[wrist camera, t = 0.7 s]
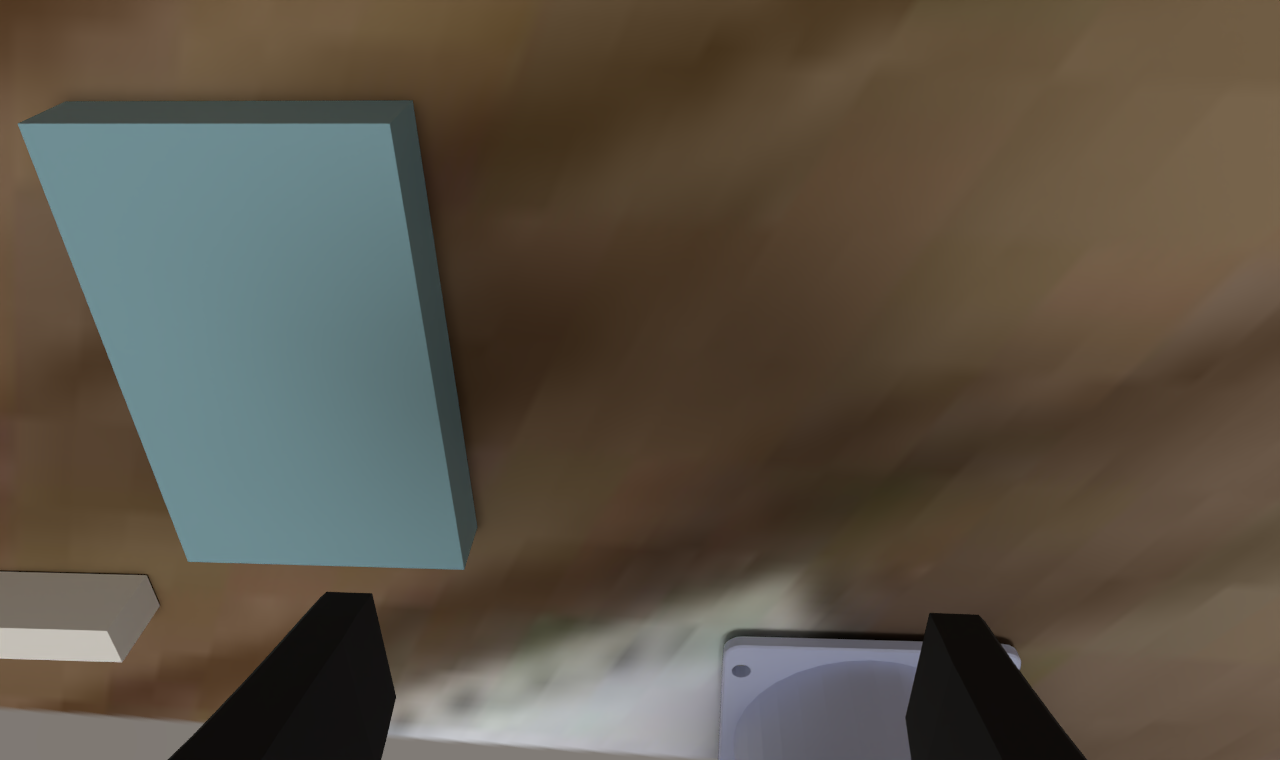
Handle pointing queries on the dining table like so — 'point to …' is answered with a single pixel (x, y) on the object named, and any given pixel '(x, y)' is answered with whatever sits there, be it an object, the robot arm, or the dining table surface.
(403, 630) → the dining table surface
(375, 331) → the rectangular block
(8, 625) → the rack
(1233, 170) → the dining table surface
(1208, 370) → the dining table surface
